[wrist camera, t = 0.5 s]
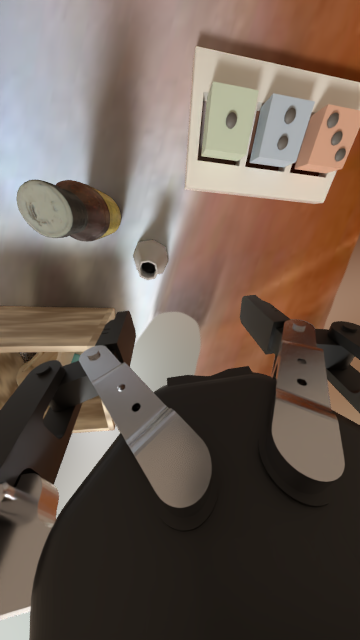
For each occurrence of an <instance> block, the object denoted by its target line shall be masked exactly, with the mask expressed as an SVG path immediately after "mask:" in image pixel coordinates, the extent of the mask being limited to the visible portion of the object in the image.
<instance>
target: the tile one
mask: <svg viewBox="0 0 360 640" xmlns="http://www.w3.org/2000/svg"><path fill="white" fill-rule="evenodd" d="M258 92H259V90H254V89H249V88H244V87H239V86H234V85H229V84H224V83H219V82H214V81H213V83H212V85H211V88H210V91H209V93H208V96H207V103H206V113H205V123H204V132H203V142H202V152H201V156H204V157H211V158H218V159H226V160H233V161H239V160H240V159H241V158H242V157H244V156H245V155H246V152H247V147H248V142H249V137H250V132H251V127H252V122H253V117H254V112H255V107H256V102H257V97H258Z"/></svg>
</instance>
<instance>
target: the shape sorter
mask: <svg viewBox="0 0 360 640" xmlns="http://www.w3.org/2000/svg"><path fill="white" fill-rule="evenodd" d="M82 353H83V352H37V353H36V354H35V356H34V357H33V358H32V359H31V360H30V361H28V362H26V363H25V364H24V365H23V366H22V367H21V368H20V369H19V371H18V373H17V376H16V380H17V384H18V386H19V385H20V384H21V383H22V381H23V380H24V379H25V377H26V376H27V375H28V374H29V372H30V371H32V370H33V369H34V368H35V367H37V366H38V365H40V364H42V363H45V362H47V361H51V360H57V361H59V362H60V363H61V364H62V366H65V365H68V364H71V363H73V362H76V361H79V357H80V355H81V354H82Z"/></svg>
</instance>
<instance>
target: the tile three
mask: <svg viewBox="0 0 360 640" xmlns="http://www.w3.org/2000/svg"><path fill="white" fill-rule="evenodd" d="M359 128H360V110H355V109H350V108H345V107H340V106H335V105H330V104H328V105H326V106H325V107H324V108H322V109H321V110H319V111H318V112H316V113H315V114H313V115H312V116H311V118H310V121H309V124H308V127H307V130H306V134H305V137H304V140H303V143H302V146H301V149H300V152H299V156H298V159H297V162H296V165H295V168H294V169H298V170H305V171H312V172H320V173H329V172H332V171H336V170H339V169H342V168H343V165H344V163H345V161H346V158H347V156H348V154H349V151H350V149H351V147H352V144H353V142H354V140H355V137H356V135H357V132H358V130H359Z"/></svg>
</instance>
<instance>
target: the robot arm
mask: <svg viewBox="0 0 360 640" xmlns="http://www.w3.org/2000/svg"><path fill="white" fill-rule="evenodd" d="M240 320H241V323H242V324H243V326H244V327H245V328H246V330H247V331H248V332H249V333H250V335H251V336H252V337H253V339H254V340H255V341H256V342H257V344H258V345H259V346H260V348H261V349H262V350H263V351H264V353H265V354H272V353H274V354H275V357H274V362H273V367H272V373H271V377H270V376H267V375H264V374H260V373H253V372H252V371H251V369H250V368H249V366H246V367H239V368H232V369H228V370H225V371H223V372H220V373H217V374H215V375H212V376H194V375H184V376H178V377H171V378H167V385H166V386H163V387H161V388H159V389H158V390H157V391H155V392H154V393H153V391H151V390H150V388H149V387H148V386H147V385H146V384H145V383H144V382H143V381H142V380H141V379H140V378H139V377H138V376H137V375H136V373H135V372H134V371H133V370H132V369H131V368H130V362H131V358H132V353H133V348H134V343H135V338H136V333H135V328H134V325H133V321H132V318H131V314H130V312H129V311H123V312H117V314H116V316H115V319H114V320H110V321H109V322H108V323H107V324H106V325H105V327H104V329H103V331H102V333H101V335H100V337H99V338H98V340H97V342H96V344H95V346H94V347H91V348H89V349H87V350H86V351H84V352H83V353H82V354H81V355H80V357H79V361H76V362H73V363H71V364H68V365H65V366H62V364H61V363H60V362H59V361H57V360H51V361H47V362H45V363H42V364H40V365H38V366H37V367H35V368H34V369H33V370H32V371H30V372H29V374H28V375H27V376H26V377H25V379H24V380H23V381H22V383H21V384H20V385H19V387H18V388H17V389H16V390H15V392H14V393H13V394H12V396H11V397H10V398H9V399H8V401H7V402H6V403H5V405H4V406H3V407H2V409H1V410H0V620H3V619H7V618H10V617H13V616H17V615H20V614H23V613H27V612H29V611H30V639H29V640H360V425H358V424H357V423H355V422H353V421H351V420H349V419H347V418H345V417H344V416H342V415H340V414H338V413H336V412H335V411H333V410H332V409H331V404H330V397H329V390H328V383H327V380H328V381H329V382H330V383H331V384H332V385H333V386H334V387H335V388H336V389H337V390H338V391H339V392H340V393H341V394H342V395H343V396H344V397H345V398H346V399H347V400H348V401H349V403H350V404H352V405H353V407H354V408H355V409H356V410H357V411H358V412H359V413H360V373H359V372H358V371H357V370H356V369H355V368H353V367H352V366H351V365H350V363H351V361H352V360H353V358H354V357H357V358H358V359H359V360H360V326H359V325H356V324H353V323H349V322H342V321H340V322H339V321H338V322H334V323H332V324H331V326H330V329H329V330H326V329H315V327H314V326H313V325H312V324H310V323H308V322H306V321H303V320H297V319H289V318H288V317H287V316H285V315H284V314H283V313H282V312H280V311H279V310H278V309H276V308H275V307H274V306H273V305H271V304H270V303H268V302H265V301H262V300H261V299H260V298H258V297H257V296H256V295H249V296H244V297H243V298H242V304H241V312H240ZM96 396H99V397H100V399H101V401H102V402H103V404H104V406H105V407H106V409H107V411H108V413H109V414H110V416H111V418H112V419H113V421H114V423H115V425H116V426H117V428H118V430H119V432H120V434H119V436H118V437H117V438H116V440H115V441H114V442H113V444H112V445H111V446H110V447H109V449H108V450H107V451H106V453H105V454H104V455H103V457H102V458H101V459H100V460H99V462H98V463H97V464H96V466H95V467H94V468H93V470H92V471H91V472H90V474H89V475H88V476H87V477H86V479H85V480H84V481H83V483H82V484H81V485H80V486H79V488H78V489H77V491H76V492H75V493H74V494H73V496H72V497H71V498H70V499H69V501H68V502H67V504H66V505H65V506H64V508H63V509H62V511H61V513H60V514H59V516H58V517H57V519H56V510H57V505H58V500H59V493H58V490H57V488H56V487H55V486H54V482H55V479H56V476H57V474H58V471H59V468H60V465H61V462H62V460H63V457H64V454H65V451H66V448H67V445H68V443H69V440H70V437H71V434H72V431H73V429H74V426H75V423H76V420H77V417H78V414H79V412H80V409H81V406H82V403H83V402H84V401H87V400H89V399H92V398H94V397H96ZM48 406H50V407H49V409H48V411H47V413H46V415H45V417H44V419H43V416H44V413H45V411H46V409H47V407H48Z"/></svg>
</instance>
